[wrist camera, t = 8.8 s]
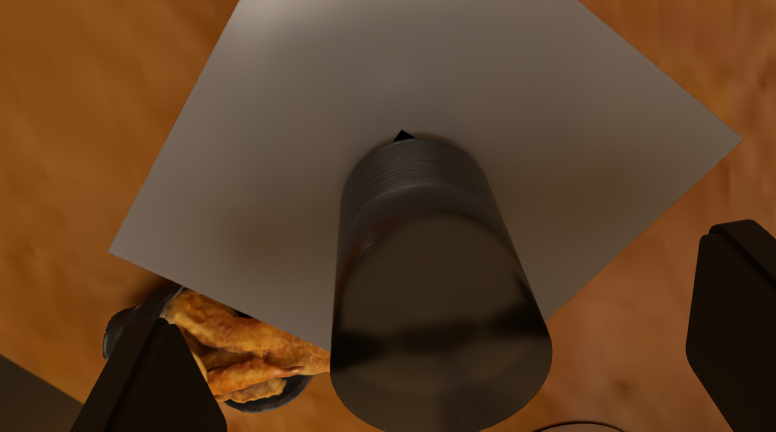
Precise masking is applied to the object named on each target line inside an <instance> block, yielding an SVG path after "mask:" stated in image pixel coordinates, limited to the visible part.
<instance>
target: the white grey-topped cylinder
mask: <svg viewBox="0 0 776 432" xmlns="http://www.w3.org/2000/svg"><path fill="white" fill-rule="evenodd" d="M401 130H404V131H405V132H407V133H408V134H410V135H412V136H413V137H415V138H416V139H433V140H438V141H442V142H446V143H448V144H451V145H453V146H455V147H457V148H459V149H461V150H463V151H464V152H465V153H467V154H468V155H469V156H471V157H472V158H473V159H474V160H475V161H476V162H477V163H478V165H479V166H480V167H481V169H482V170H483V172H484V174H485V176H486V178H487V180H488V182H489V185H490V187H491V190H492V192H493V195H494V197H495V200H496V202H497V205H498V207H499V210H500V212H501V215H502V217H503V220H504V222H505V225H506V227H507V230H508V232H509V235H510V237H511V240H512V242H513V245H514V247H515V250H516V252H517V255H518V257H519V260H520V262H521V265H522V267H523V270H524V272H525V275H526V277H527V280H528V282H529V285H530V287H531V290H532V292H533V295H534V297H535V299H536V302H537V304H538V307H539V309H540V312H541V314H542V317H543V319H544V322H545V321H546V320H547V319H548V318H550V317H551V316H552V315H553V314H554V313H555V312H556V311H557V310H558V309H559V308H560V307H561V306H563V305H564V304H565V303H566V302H567V301H568V300H569V299H570V298H571V297H572V296H573V295H575V294H576V293H577V292H578V291H579V290H580V289H581V288H582V287H583V286H584V285H585V284H587V283H588V282H589V281H590V280H591V279H592V278H593V277H594V276H595V275H596V274H597V273H598V272H600V271H601V270H602V269H603V268H604V267H605V266H606V265H607V264H608V263H609V262H610V261H612V260H613V259H614V258H615V257H616V256H617V255H618V254H619V253H620V252H621V251H622V250H624V249H625V248H626V247H627V246H628V245H629V244H630V243H631V242H632V241H633V240H634V239H635V238H637V237H638V236H639V235H640V234H641V233H642V232H643V231H644V230H645V229H646V228H647V227H649V226H650V225H651V224H652V223H653V222H654V221H655V220H656V219H657V218H658V217H659V216H661V215H662V214H663V213H664V212H665V211H666V210H667V209H668V208H669V207H670V206H671V205H672V204H674V203H675V202H676V201H677V200H678V199H679V198H680V197H681V196H682V195H683V194H684V193H686V192H687V191H688V190H689V189H690V188H691V187H692V186H693V185H694V184H695V183H696V182H698V181H699V180H700V179H701V178H702V177H703V176H704V175H705V174H706V173H707V172H708V171H709V170H711V169H712V168H713V167H714V166H715V165H716V164H717V163H718V162H719V161H720V160H721V159H723V158H724V157H725V156H726V155H727V154H728V153H729V152H730V151H731V150H732V149H733V148H735V147H736V146H737V145H738V144H739V143H740V142H741V141H742V140H743V138H742V137H741V136H740V135H739V134H737V133H736V132H735V131H734V130H733V129H731V128H730V127H729V126H728V125H727V124H725V123H724V122H723V121H722V120H721V119H719V118H718V117H717V116H716V115H715V114H713V113H712V112H711V111H710V110H709V109H707V108H706V107H705V106H704V105H703V104H701V103H700V102H699V101H698V100H697V99H695V98H694V97H693V96H692V95H691V94H689V93H688V92H687V91H686V90H685V89H683V88H682V87H681V86H680V85H679V84H677V83H676V82H675V81H674V80H673V79H671V78H670V77H669V76H668V75H667V74H665V73H664V72H663V71H662V70H661V69H659V68H658V67H657V66H656V65H655V64H653V63H652V62H651V61H650V60H649V59H647V58H646V57H645V56H644V55H643V54H641V53H640V52H639V51H638V50H637V49H635V48H634V47H633V46H632V45H631V44H629V43H628V42H627V41H626V40H625V39H623V38H622V37H621V36H620V35H619V34H617V33H616V32H615V31H614V30H613V29H611V28H610V27H609V26H608V25H607V24H605V23H604V22H603V21H602V20H601V19H599V18H598V17H597V16H596V15H595V14H593V13H592V12H591V11H590V10H589V9H587V8H586V7H585V6H584V5H583V4H581V3H580V2H579V1H578V0H239V2H238V4H237V6H236V8H235V10H234V12H233V14H232V16H231V18H230V19H229V21H228V23H227V25H226V27H225V29H224V31H223V33H222V35H221V37H220V39H219V40H218V42H217V44H216V46H215V48H214V50H213V52H212V54H211V56H210V58H209V60H208V61H207V63H206V65H205V67H204V69H203V71H202V73H201V75H200V77H199V79H198V81H197V82H196V84H195V86H194V88H193V90H192V92H191V94H190V96H189V98H188V100H187V102H186V103H185V105H184V107H183V109H182V111H181V113H180V115H179V117H178V119H177V121H176V123H175V124H174V126H173V128H172V130H171V132H170V134H169V136H168V138H167V140H166V142H165V144H164V145H163V147H162V149H161V151H160V153H159V155H158V157H157V159H156V161H155V163H154V165H153V166H152V168H151V170H150V172H149V174H148V176H147V178H146V180H145V182H144V184H143V186H142V187H141V189H140V191H139V193H138V195H137V197H136V199H135V201H134V203H133V205H132V207H131V209H130V210H129V212H128V214H127V216H126V218H125V220H124V222H123V224H122V226H121V228H120V230H119V231H118V233H117V235H116V237H115V239H114V241H113V243H112V245H111V247H110V249H109V251H108V252H109V253H111V254H113V255H116V256H118V257H120V258H122V259H125V260H127V261H129V262H131V263H133V264H136V265H138V266H140V267H142V268H145V269H147V270H149V271H151V272H154V273H156V274H158V275H160V276H162V277H165V278H167V279H169V280H171V281H174V282H176V283H178V284H180V285H183V286H185V287H187V288H189V289H191V290H194V291H196V292H198V293H200V294H203V295H205V296H207V297H209V298H211V299H214V300H216V301H218V302H220V303H223V304H225V305H227V306H229V307H232V308H234V309H236V310H238V311H240V312H243V313H245V314H247V315H249V316H252V317H254V318H256V319H258V320H260V321H263V322H265V323H267V324H269V325H272V326H274V327H276V328H278V329H281V330H283V331H285V332H287V333H289V334H292V335H294V336H296V337H298V338H301V339H303V340H305V341H307V342H310V343H312V344H314V345H316V346H318V347H321V348H323V349H325V350H327V351H331V336H332V320H333V305H334V290H335V275H336V260H337V244H338V229H339V214H340V201H341V194H342V191H343V187H344V185H345V183H346V180H347V178H348V177H349V175H350V174H351V172H352V171H353V169H354V168H355V167H356V166H357V165H358V163H359V162H361V161H362V160H363V159H364V158H365V157H366V156H368V155H369V154H370V153H372V152H373V151H375V150H377V149H379V148H381V147H383V146H385V145H388V144H390V143H392V142H393V140H394V139H395V138H396V136H397V135H398V134H399V132H400V131H401Z"/></svg>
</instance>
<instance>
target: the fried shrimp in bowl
mask: <svg viewBox="0 0 776 432" xmlns="http://www.w3.org/2000/svg"><path fill="white" fill-rule="evenodd" d="M159 317H161V318H165V319H166V320H167V321H168V322H169V324H172V323H173V324H176V325H177V326H178V327H179V329H180V331H181V333H182V335H183V337H184V339H185V341H186V343H187V344H188V346H189V348H190V350H191V352H192V354H193V356H194V358H195V360H196V362H197V364H198V366H199V368H200V370H201V372H202V374H203V376H204V378H205V380H206V382H207V384H208V386H209V388H210V390H211V392H212V394H213V395H214V397H215V399H216V401H219V402H222V401H224V402H225V403H226V404H227V405H228V406H230V407H233V408H235V409H238V410H240V411H242V412H250V413H260V412H267V411H272V410H275V409H277V408H279V407H281V406H284V405H286V404H287V403H289V402H291V401H292V400H294V399H295V398H296V397H297V396H299V395H300V394H301V393H302V392H303V390H304V389H305V388H306V386H307V385H308V383H309V382H310V380H311V379H312V377H313V375H315V374H318V373H322V372H330V351H327V350H325V349H323V348H321V347H318V346H316V345H314V344H312V343H310V342H307V341H305V340H303V339H301V338H298V337H296V336H294V335H292V334H289V333H287V332H285V331H283V330H281V329H278V328H276V327H274V326H272V325H269V324H267V323H265V322H263V321H260V320H258V319H256V318H254V317H252V316H249V315H247V314H245V313H243V312H240V311H238V310H236V309H234V308H232V307H229V306H227V305H225V304H223V303H220V302H218V301H216V300H214V299H211V298H209V297H207V296H205V295H203V294H200V293H198V292H196V291H194V290H191V289H189V288H187V287H185V286H183V285H180V284H178V283H175V284H172V285H169V286H165V287H160V288H158V289H156V290H155V291H154V292H153V293H152V294H150V295H149V296H148V297H147V298H146V299H144V300H143V301H141V302H140V303H139V304H138V305H137V306H133V307H131V308H127V309H124V310H122V311H120V312H118V313H117V314H115V315H114V316H113V317H112V318H111V320H110V321H109V323H108V326H107V328H106V333H105V334H104V340H103V356H104V358H105V360H106V361H108V359H109V358H110V356H111V354H112V352H113V350H114V348H115V346H116V344H117V343H118V341H119V339H120V337H121V335H122V333H123V331H124V330H125V328H126V327H127V325H128V324H129V323H131V322H135V321H141V320H147V319H153V318H159Z"/></svg>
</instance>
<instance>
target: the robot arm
mask: <svg viewBox="0 0 776 432" xmlns="http://www.w3.org/2000/svg"><path fill="white" fill-rule="evenodd" d="M686 355H687V359H688V362H689V364H690V366H691V368H692V370H693V371H694V373H695V374H696V376H697V377H698V379H699V380H700V382H701V383H702V385H703V386H704V388H705V389H706V391H707V392H708V394H709V395H710V397H711V398H712V400H713V401H714V403H715V404H716V406H717V407H718V409H719V410H720V412H721V413H722V415H723V416H724V418H725V419H726V421H727V422H728V424H729V425H730V427H731V428H732V430H733V431H734V432H776V239H775V238H774V237H773V236H772V235H771V234H769V233H768V232H767V231H766V230H765V229H764V228H763V227H761V226H760V225H759V224H758V223H757V222H755V221H753V220H749V219H747V220H741V221H735V222H729V223H723V224H717V225H714V226H712V227H711V229H710V230H709V234H708V235H704V236H702V238H701V239H700V243H699V250H698V258H697V265H696V273H695V280H694V288H693V295H692V303H691V310H690V318H689V325H688V333H687V340H686ZM70 432H227V424H226V420H225V417H224V415H223V413H222V411H221V409H220V407H219V405H218V403H217V401H216V399H215V397H214V395H213V394H212V392H211V390H210V388H209V386H208V384H207V382H206V380H205V378H204V376H203V374H202V372H201V370H200V368H199V366H198V364H197V362H196V360H195V358H194V356H193V354H192V352H191V350H190V348H189V346H188V344H187V343H186V341H185V339H184V337H183V335H182V333H181V331H180V329H179V327H178V326H177V325H176V324H173V323H172V324H169V322H168V321H167V320H166V319H165V318H161V317H159V318H153V319H147V320H141V321H135V322H131V323H129V324H128V325H127V327H126V328H125V330H124V331H123V333H122V335H121V337H120V339H119V341H118V343H117V344H116V346H115V348H114V350H113V352H112V354H111V356H110V358H109V359H108V361H107V363H106V365H105V367H104V369H103V371H102V372H101V374H100V376H99V378H98V380H97V382H96V384H95V386H94V387H93V389H92V391H91V393H90V395H89V397H88V399H87V400H86V402H85V404H84V406H83V408H82V410H81V412H80V414H79V415H78V417H77V419H76V421H75V423H74V425H73V427H72V428H71V430H70ZM540 432H620V431H619V430H616V429H613V428H610V427H607V426H602V425H596V424H570V425H562V426H558V427H553V428H549V429H546V430H543V431H540Z"/></svg>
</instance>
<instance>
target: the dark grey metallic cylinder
mask: <svg viewBox="0 0 776 432" xmlns="http://www.w3.org/2000/svg"><path fill="white" fill-rule="evenodd" d="M551 362H552V343H551V338H550V335H549V332H548V329H547V327H546V324H545V322H544V319H543V317H542V314H541V312H540V309H539V307H538V304H537V302H536V299H535V297H534V295H533V292H532V290H531V287H530V285H529V282H528V280H527V277H526V275H525V272H524V270H523V267H522V265H521V262H520V260H519V257H518V255H517V252H516V250H515V247H514V245H513V242H512V240H511V237H510V235H509V232H508V230H507V227H506V225H505V222H504V220H503V217H502V215H501V212H500V210H499V207H498V205H497V202H496V200H495V197H494V195H493V192H492V190H491V187H490V185H489V182H488V180H487V178H486V176H485V174H484V172H483V170H482V169H481V167H480V166H479V165H478V163H477V162H476V161H475V160H474V159H473V158H472V157H471V156H469V155H468V154H467V153H465V152H464V151H463V150H461V149H459V148H457V147H455V146H453V145H451V144H448V143H446V142H442V141H438V140H433V139H416V138H415V137H413V136H412V135H410V134H408V133H407V132H405V131H404V130H401V131H400V132H399V134H398V135H397V136H396V138H395V139H394V140H393V142H392V143H390V144H388V145H385V146H383V147H381V148H379V149H377V150H375V151H373V152H372V153H370V154H369V155H368V156H366V157H365V158H364V159H363V160H362V161H361V162H359V163H358V165H357V166H356V167H355V168H354V169H353V171H352V172H351V174H350V175H349V177H348V178H347V180H346V183H345V185H344V187H343V191H342V194H341V201H340V214H339V229H338V244H337V260H336V275H335V290H334V305H333V320H332V336H331V351H330V376H331V381H332V385H333V387H334V389H335V391H336V394H337V395H338V397H339V398H340V400H341V401H342V403H343V404H344V405H345V406H346V407H347V408H348V409H349V410H350V411H351V412H352V413H353V414H354V415H356V416H357V417H358V418H359V419H361V420H363V421H364V422H366V423H367V424H369V425H372V426H374V427H376V428H378V429H380V430H383V431H386V432H477V431H481V430H483V429H486V428H489V427H491V426H493V425H495V424H498V423H500V422H502V421H504V420H505V419H507V418H509V417H510V416H512V415H514V414H515V413H516V412H518V411H519V410H520V409H522V408H523V407H524V406H525V405H526V404H527V403H528V402H529V401H530V400H531V399H532V398H533V397H534V396H535V395H536V394H537V392H538V391H539V390H540V388H541V387H542V385H543V383H544V382H545V380H546V378H547V375H548V373H549V370H550V366H551Z"/></svg>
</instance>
